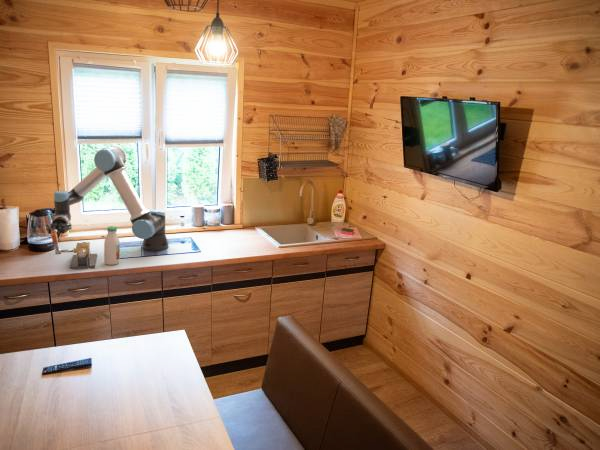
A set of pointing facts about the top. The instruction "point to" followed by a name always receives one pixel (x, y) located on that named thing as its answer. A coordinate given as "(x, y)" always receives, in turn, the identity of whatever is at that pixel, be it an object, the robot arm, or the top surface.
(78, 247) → the valve stand
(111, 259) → the milk bottle
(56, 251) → the valve lever
